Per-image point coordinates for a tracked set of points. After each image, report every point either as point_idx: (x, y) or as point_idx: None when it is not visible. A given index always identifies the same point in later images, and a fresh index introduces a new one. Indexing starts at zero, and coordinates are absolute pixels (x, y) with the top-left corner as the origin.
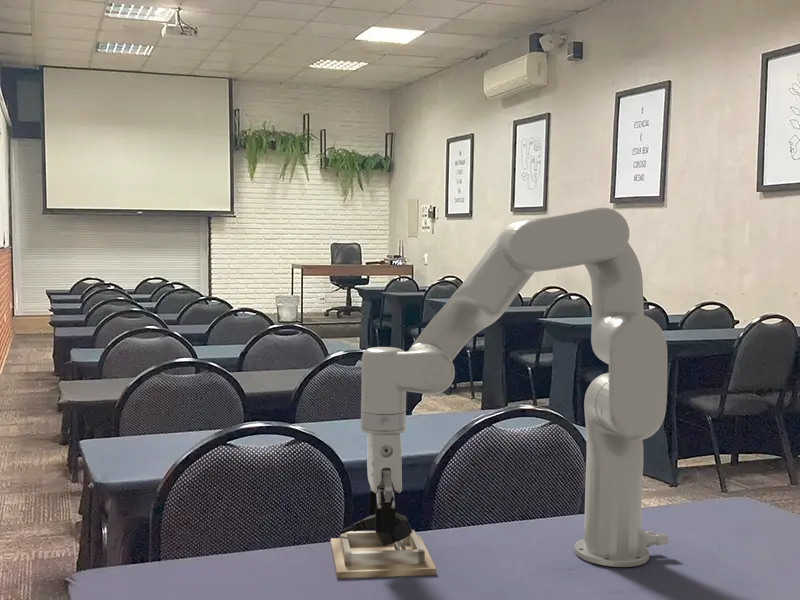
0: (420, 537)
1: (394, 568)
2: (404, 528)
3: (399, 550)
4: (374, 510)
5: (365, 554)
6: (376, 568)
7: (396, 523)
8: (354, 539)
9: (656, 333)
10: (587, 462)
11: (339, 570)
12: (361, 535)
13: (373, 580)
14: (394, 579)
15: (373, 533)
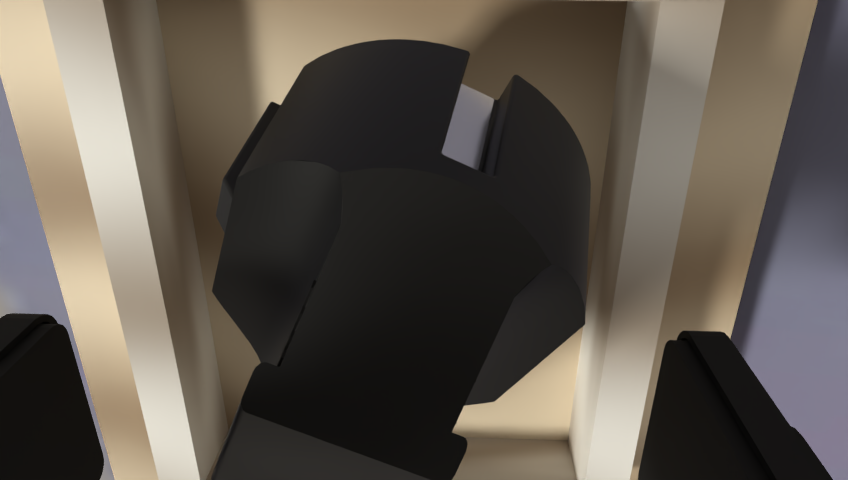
0: None
1: (727, 201)
2: (556, 181)
3: (645, 183)
4: (71, 463)
5: (639, 422)
6: (692, 315)
7: (537, 299)
8: (207, 410)
9: None
10: None
11: None
12: (191, 389)
13: (763, 319)
14: (794, 196)
15: (169, 317)
